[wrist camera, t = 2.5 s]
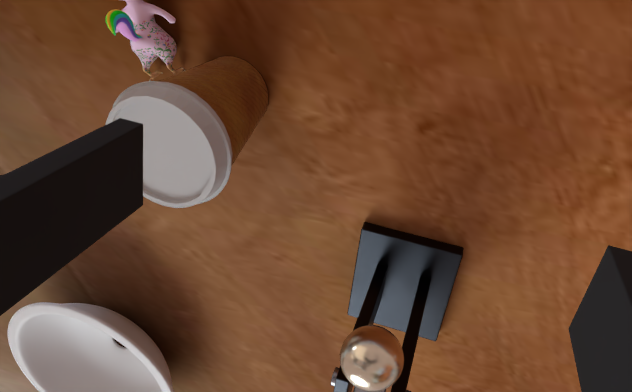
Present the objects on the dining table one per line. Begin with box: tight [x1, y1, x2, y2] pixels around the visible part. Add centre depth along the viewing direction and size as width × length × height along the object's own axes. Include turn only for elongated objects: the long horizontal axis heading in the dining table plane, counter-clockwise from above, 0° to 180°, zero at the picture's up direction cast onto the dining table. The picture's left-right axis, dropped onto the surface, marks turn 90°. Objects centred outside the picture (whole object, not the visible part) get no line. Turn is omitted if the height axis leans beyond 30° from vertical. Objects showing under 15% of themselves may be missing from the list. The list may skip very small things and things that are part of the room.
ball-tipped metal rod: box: [340, 325, 404, 392], centre depth 36 cm, size 15×4×4 cm, turn 175°
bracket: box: [331, 222, 463, 392], centre depth 46 cm, size 11×9×15 cm
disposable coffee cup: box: [106, 56, 268, 208], centre depth 42 cm, size 10×10×12 cm
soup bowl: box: [8, 302, 174, 392], centre depth 70 cm, size 24×24×7 cm
